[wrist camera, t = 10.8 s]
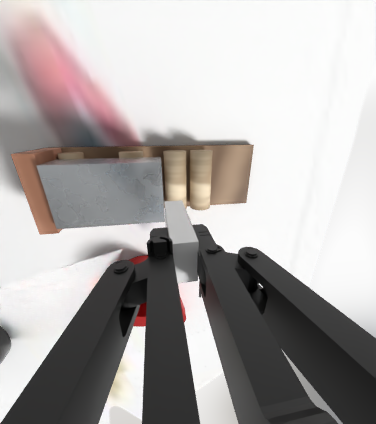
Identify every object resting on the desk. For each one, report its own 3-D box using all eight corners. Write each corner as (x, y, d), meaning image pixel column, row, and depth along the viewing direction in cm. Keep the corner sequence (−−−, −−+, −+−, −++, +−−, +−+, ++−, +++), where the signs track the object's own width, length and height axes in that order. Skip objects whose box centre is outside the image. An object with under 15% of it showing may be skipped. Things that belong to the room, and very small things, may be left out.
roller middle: (164, 211, 27) (167, 203, 30) (186, 211, 27) (186, 203, 30) (161, 152, 24) (164, 150, 27) (185, 152, 24) (186, 150, 26)
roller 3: (188, 209, 28) (191, 202, 30) (209, 210, 27) (210, 203, 30) (188, 151, 24) (192, 149, 27) (211, 152, 24) (213, 149, 27)
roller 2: (124, 208, 28) (143, 204, 30) (131, 215, 26) (151, 210, 27) (115, 151, 25) (137, 150, 26) (122, 154, 22) (146, 152, 24)
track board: (65, 210, 29) (39, 234, 22) (47, 147, 25) (10, 154, 19) (243, 200, 32) (264, 218, 26) (250, 144, 29) (277, 149, 22)
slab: (71, 214, 25) (56, 229, 21) (56, 159, 22) (36, 165, 19) (163, 208, 27) (164, 221, 23) (160, 156, 24) (161, 162, 20)
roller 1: (69, 217, 25) (78, 209, 28) (91, 216, 26) (98, 208, 28) (52, 154, 22) (64, 151, 25) (78, 154, 22) (86, 151, 25)
